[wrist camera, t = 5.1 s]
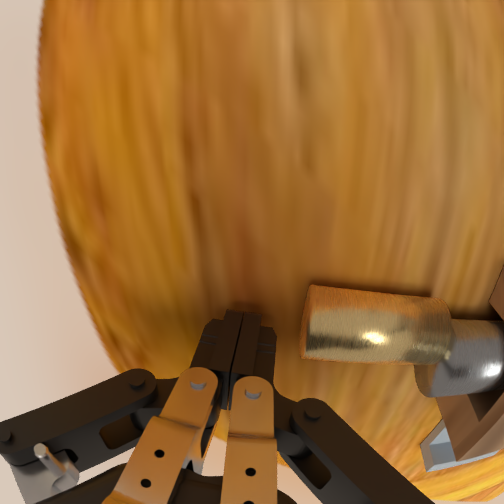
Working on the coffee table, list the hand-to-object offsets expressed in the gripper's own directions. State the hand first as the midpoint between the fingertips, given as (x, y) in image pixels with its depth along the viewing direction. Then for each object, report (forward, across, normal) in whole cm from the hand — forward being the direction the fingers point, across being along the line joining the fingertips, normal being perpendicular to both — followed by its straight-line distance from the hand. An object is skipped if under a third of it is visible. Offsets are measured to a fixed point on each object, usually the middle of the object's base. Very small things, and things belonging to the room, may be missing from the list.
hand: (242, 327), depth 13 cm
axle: (+1, -14, 0) cm, 14 cm away
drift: (0, -6, 0) cm, 6 cm away
